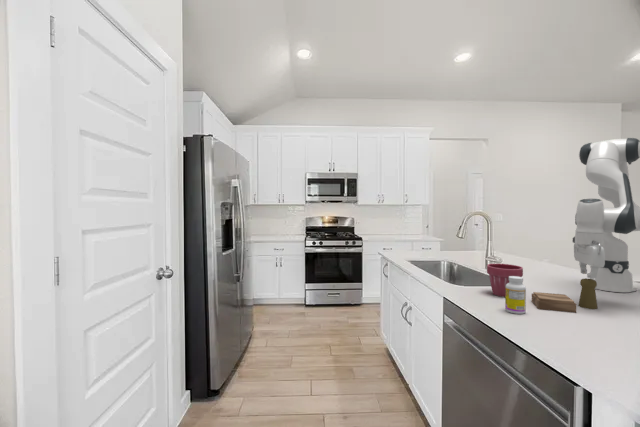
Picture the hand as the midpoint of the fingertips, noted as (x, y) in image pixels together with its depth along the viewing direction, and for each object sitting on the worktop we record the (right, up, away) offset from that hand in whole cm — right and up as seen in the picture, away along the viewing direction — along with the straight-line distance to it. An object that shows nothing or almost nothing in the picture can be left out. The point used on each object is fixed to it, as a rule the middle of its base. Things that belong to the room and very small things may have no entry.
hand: (588, 275), depth 135 cm
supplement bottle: (-32, -12, -7) cm, 35 cm away
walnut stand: (-14, -12, 0) cm, 18 cm away
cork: (0, -13, 0) cm, 13 cm away
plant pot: (-23, -12, +19) cm, 32 cm away
